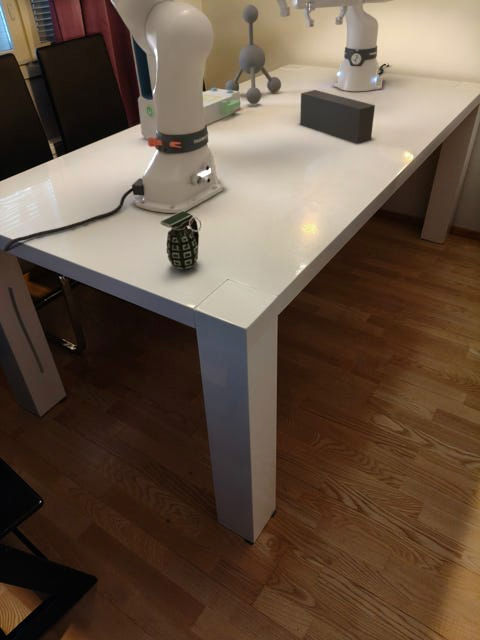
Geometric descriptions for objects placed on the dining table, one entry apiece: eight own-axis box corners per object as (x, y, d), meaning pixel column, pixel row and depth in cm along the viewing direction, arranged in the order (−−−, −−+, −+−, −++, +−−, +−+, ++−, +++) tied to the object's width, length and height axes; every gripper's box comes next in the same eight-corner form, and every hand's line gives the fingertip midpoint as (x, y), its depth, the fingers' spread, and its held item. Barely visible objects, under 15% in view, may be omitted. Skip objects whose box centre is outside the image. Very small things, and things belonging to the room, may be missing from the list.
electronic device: (141, 137, 154) (123, 28, 136) (159, 131, 158) (144, 24, 140) (166, 145, 147) (151, 30, 129) (185, 138, 151) (172, 26, 133)
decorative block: (204, 85, 179) (249, 90, 169) (206, 103, 183) (250, 109, 173) (156, 101, 163) (202, 108, 153) (159, 121, 167) (204, 129, 157)
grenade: (182, 278, 88) (175, 228, 82) (162, 268, 91) (153, 219, 85) (208, 263, 92) (203, 214, 85) (187, 253, 95) (181, 205, 89)
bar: (371, 139, 143) (375, 105, 137) (357, 143, 140) (360, 109, 135) (313, 120, 160) (314, 89, 154) (300, 124, 157) (300, 93, 152)
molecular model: (299, 96, 185) (301, 2, 166) (252, 107, 175) (249, 9, 157) (262, 86, 200) (261, -1, 182) (217, 96, 191) (211, 5, 173)
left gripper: (317, -61, 116) (315, 7, 125) (257, -56, 106) (259, 19, 114) (338, -63, 113) (335, 8, 121) (279, -57, 102) (279, 20, 111)
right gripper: (355, -34, 140) (350, 22, 148) (289, -31, 135) (288, 27, 143) (366, -34, 135) (361, 24, 143) (299, -31, 130) (297, 29, 138)
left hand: (298, 13), depth 118 cm, fingers open, 8 cm apart
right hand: (324, 25), depth 143 cm, fingers open, 8 cm apart
